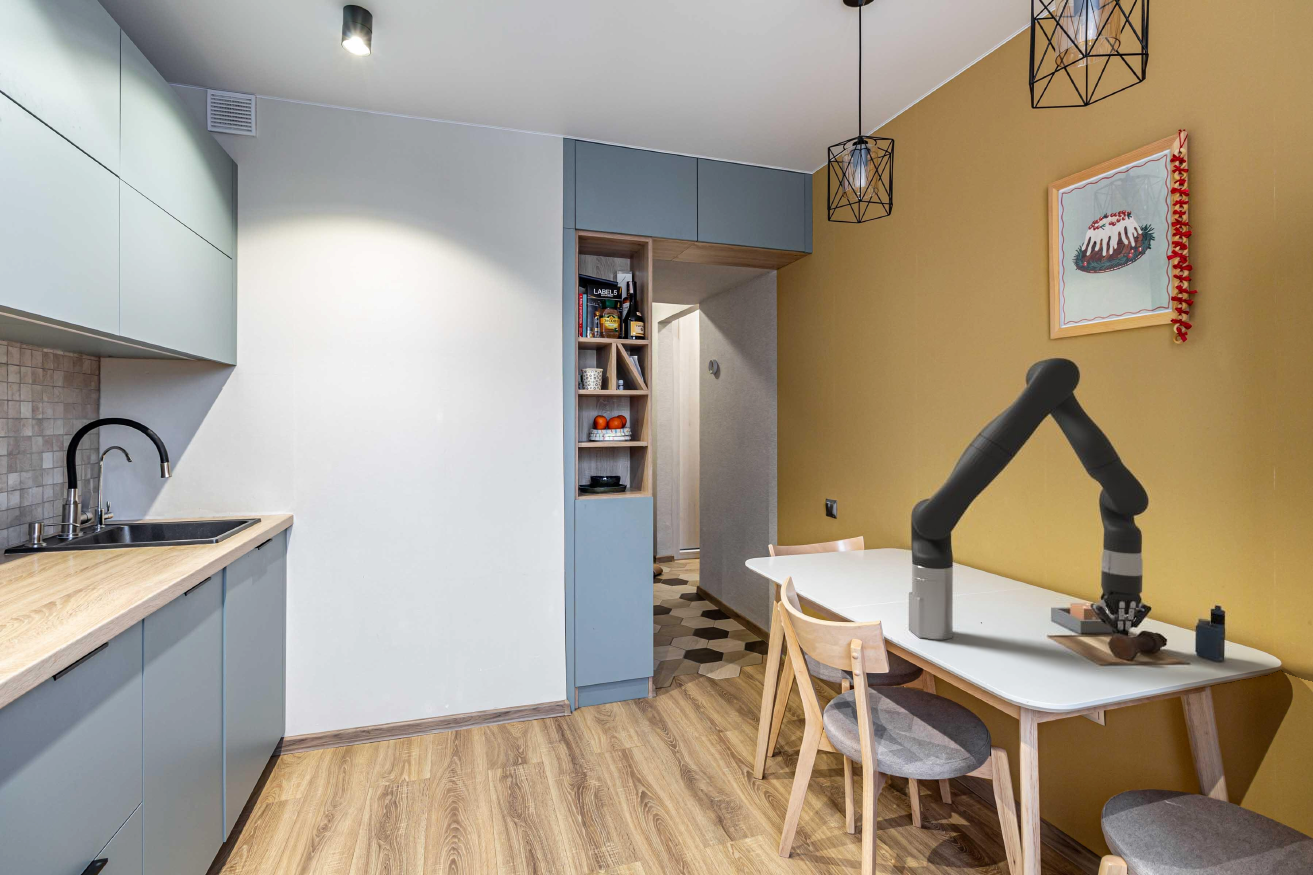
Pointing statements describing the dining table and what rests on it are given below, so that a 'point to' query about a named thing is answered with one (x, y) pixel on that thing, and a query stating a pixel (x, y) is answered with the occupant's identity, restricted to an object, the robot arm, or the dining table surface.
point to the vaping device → (1211, 636)
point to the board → (1102, 655)
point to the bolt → (1136, 644)
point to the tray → (1078, 623)
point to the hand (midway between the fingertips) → (1119, 644)
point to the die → (1083, 611)
